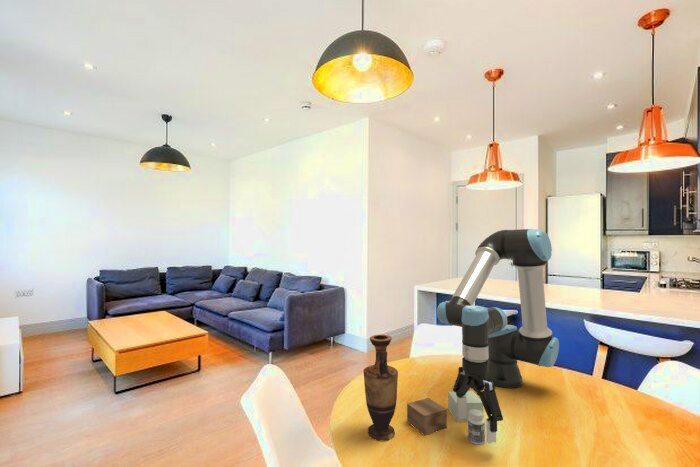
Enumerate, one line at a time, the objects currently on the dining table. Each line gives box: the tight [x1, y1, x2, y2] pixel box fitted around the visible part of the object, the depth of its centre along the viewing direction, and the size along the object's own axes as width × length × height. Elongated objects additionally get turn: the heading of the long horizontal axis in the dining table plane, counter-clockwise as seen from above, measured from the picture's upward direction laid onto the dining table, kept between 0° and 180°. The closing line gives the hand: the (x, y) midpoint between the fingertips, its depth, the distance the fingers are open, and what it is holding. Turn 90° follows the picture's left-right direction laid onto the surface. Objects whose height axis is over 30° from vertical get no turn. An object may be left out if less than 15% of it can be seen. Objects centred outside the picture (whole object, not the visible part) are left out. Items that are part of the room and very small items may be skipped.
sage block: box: [447, 390, 484, 422], centre depth 118 cm, size 9×9×6 cm
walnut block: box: [406, 397, 448, 436], centre depth 112 cm, size 9×9×6 cm
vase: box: [363, 334, 399, 441], centre depth 107 cm, size 11×11×30 cm
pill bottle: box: [467, 409, 486, 445], centre depth 103 cm, size 5×5×8 cm
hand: (475, 429), depth 103 cm, fingers open, 13 cm apart
